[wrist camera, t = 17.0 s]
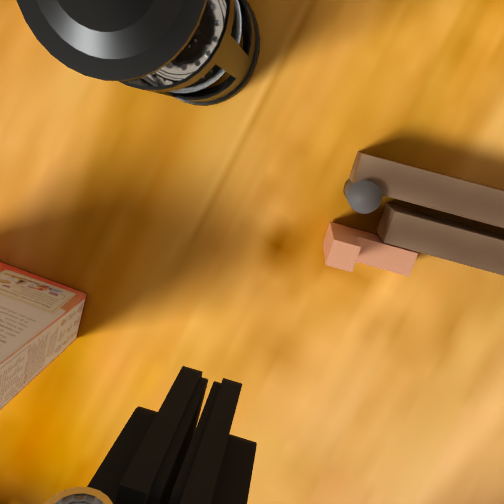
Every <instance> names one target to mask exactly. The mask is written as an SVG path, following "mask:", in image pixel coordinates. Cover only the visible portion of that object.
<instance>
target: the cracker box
mask: <svg viewBox="0 0 504 504" xmlns="http://www.w3.org/2000/svg"><path fill="white" fill-rule="evenodd" d="M86 295H87V294H86V293H83V292H81V291H78V290H75V289H72V288H70V287H67V286H64V285H62V284H59V283H56V282H53V281H51V280H48V279H45V278H43V277H40V276H37V275H34V274H32V273H29V272H26V271H24V270H21V269H18V268H16V267H13V266H10V265H7V264H5V263H2V262H0V410H1V409H2V408H3V407H4V406H5V405H6V404H7V403H8V402H9V401H10V400H12V399H13V398H14V397H15V396H16V395H17V394H18V393H19V392H20V391H21V390H22V389H23V388H24V387H25V386H26V385H28V384H29V383H30V382H31V381H32V380H33V379H34V378H35V377H36V376H37V375H38V374H39V373H40V372H41V371H42V370H44V369H45V368H46V367H47V366H48V365H49V364H50V363H51V362H52V361H53V360H54V359H55V358H57V357H58V356H59V355H60V354H61V353H62V352H63V351H64V350H65V349H66V348H67V347H68V346H69V345H70V344H71V343H72V342H73V341H75V340H76V338H77V333H78V329H79V325H80V321H81V317H82V312H83V308H84V304H85V299H86Z"/></svg>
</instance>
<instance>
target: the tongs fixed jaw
mask: <svg viewBox="0 0 504 504" xmlns="http://www.w3.org/2000/svg"><path fill="white" fill-rule="evenodd" d="M344 194H345V197H346V198H347V200H348V202H349V204H350V206H351V207H352V209H353V210H355V211H356V212H358V213H362V214H367V213H371V212H373V211H374V210H376V209H377V208H378V207H379V205H380V203H381V200H382V195H384V196H387V197H391V198H395V199H398V200H402V201H406V202H410V203H413V204H417V205H421V206H424V207H428V208H432V209H435V210H439V211H443V212H446V213H450V214H454V215H457V216H461V217H465V218H468V219H472V220H476V221H479V222H483V223H487V224H491V225H494V226H498V227H502V228H504V190H500V189H497V188H493V187H489V186H485V185H482V184H478V183H474V182H470V181H467V180H463V179H459V178H455V177H452V176H448V175H444V174H440V173H437V172H433V171H429V170H425V169H422V168H418V167H414V166H410V165H407V164H403V163H399V162H395V161H392V160H388V159H384V158H380V157H377V156H373V155H369V154H365V153H362V152H358V153H357V156H356V159H355V162H354V165H353V168H352V171H351V175H350V178H349V179H348V180H347V181H346V183H345V185H344Z"/></svg>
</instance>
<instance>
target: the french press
mask: <svg viewBox="0 0 504 504" xmlns="http://www.w3.org/2000/svg"><path fill="white" fill-rule="evenodd" d="M17 3H18V5H19V7H20V10H21V12H22V14H23V16H24V19H25V21H26V23H27V24H28V26H29V27H30V29H31V30H32V32H33V33H34V35H35V36H36V38H37V40H38V41H39V42H40V43H41V44H42V45H43V46H44V47H45V48H46V49H47V50H48V52H49V53H50V54H51V55H52V56H54V57H55V58H56V59H58V60H59V61H60V62H62V63H63V64H64V65H66V66H67V67H69V68H71V69H73V70H75V71H77V72H79V73H81V74H83V75H85V76H89V77H93V78H97V79H101V80H105V81H119V82H121V83H123V84H125V85H127V86H131V87H135V88H139V89H142V90H147V91H151V92H156V93H160V94H164V95H168V96H172V97H175V98H177V99H179V100H181V101H183V102H185V103H189V104H193V105H202V106H208V105H214V104H218V103H221V102H223V101H226V100H228V99H229V98H231V97H232V96H234V95H235V94H237V93H238V92H239V91H240V90H241V89H242V88H243V87H244V86H245V85H246V83H247V82H248V80H249V79H250V77H251V76H252V74H253V71H254V69H255V67H256V64H257V60H258V56H259V49H260V36H259V28H258V24H257V21H256V18H255V15H254V12H253V11H252V9H251V7H250V5H249V3H248V2H247V0H17ZM241 29H242V35H243V49H242V48H241V47H240V46H239V42H240V37H241ZM225 71H226V72H228V73H229V74H230V76H229V77H228V78H227V80H225V81H224V82H222V83H221V84H219V85H217V86H214V87H212V88H206V89H203V88H205V87H208V86H209V85H211V84H212V83H214V82H215V81H216V80H218V79H219V78H220V77H221V76H222V75H223V74H224V72H225ZM142 78H143V79H142Z"/></svg>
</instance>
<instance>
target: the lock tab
mask: <svg viewBox="0 0 504 504" xmlns="http://www.w3.org/2000/svg"><path fill="white" fill-rule="evenodd" d="M323 247H324V255H325V263H326V265H328V266H331V267H335V268H339V269H342V270H346V271H349V272H352V271H353V269H354V266H355V263H356V262H359V263H362V264H366V265H370V266H373V267H377V268H380V269H384V270H387V271H391V272H394V273H398V274H402V275H405V276H410V273H411V271H412V268H413V266H414V263H415V260H416V258H417V255H418V253H417V252H416V251H413V250H409V249H406V248H402V247H399V246H395V245H391V244H388V243H384V242H383V240H382V239H381V237H380V236H379V235H376V234H373V233H369V232H365V231H362V230H358V229H355V228H351V227H347V226H344V225H340V224H336V223H333V222H330V223H329V226H328V229H327V233H326V236H325V239H324V242H323Z"/></svg>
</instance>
